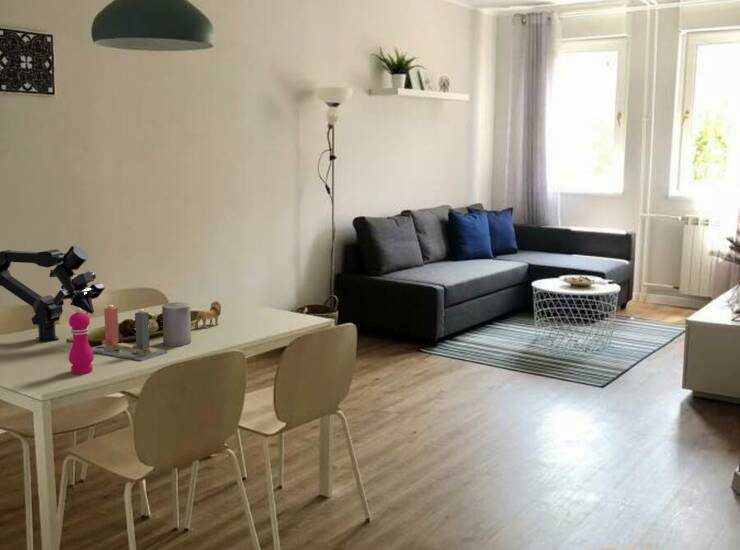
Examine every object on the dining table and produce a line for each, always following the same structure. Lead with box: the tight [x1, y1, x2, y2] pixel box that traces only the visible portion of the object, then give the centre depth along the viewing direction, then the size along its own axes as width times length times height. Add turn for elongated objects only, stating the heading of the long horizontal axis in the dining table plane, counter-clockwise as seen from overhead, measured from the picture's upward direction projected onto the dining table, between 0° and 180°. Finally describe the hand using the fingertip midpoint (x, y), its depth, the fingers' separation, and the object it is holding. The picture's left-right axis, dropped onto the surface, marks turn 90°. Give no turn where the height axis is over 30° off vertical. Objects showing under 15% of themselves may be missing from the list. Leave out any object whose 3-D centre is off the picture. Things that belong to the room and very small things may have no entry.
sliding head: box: [101, 304, 120, 348], centre depth 275 cm, size 3×5×14 cm, turn 151°
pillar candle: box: [161, 301, 192, 347], centre depth 285 cm, size 10×10×15 cm
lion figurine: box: [194, 300, 222, 330], centre depth 311 cm, size 15×5×9 cm, turn 156°
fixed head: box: [133, 309, 150, 353], centre depth 268 cm, size 3×5×14 cm, turn 151°
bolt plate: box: [91, 342, 168, 362], centre depth 272 cm, size 24×12×2 cm, turn 61°
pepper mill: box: [68, 307, 95, 375], centre depth 247 cm, size 7×7×20 cm
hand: (92, 312), depth 280 cm, fingers closed
